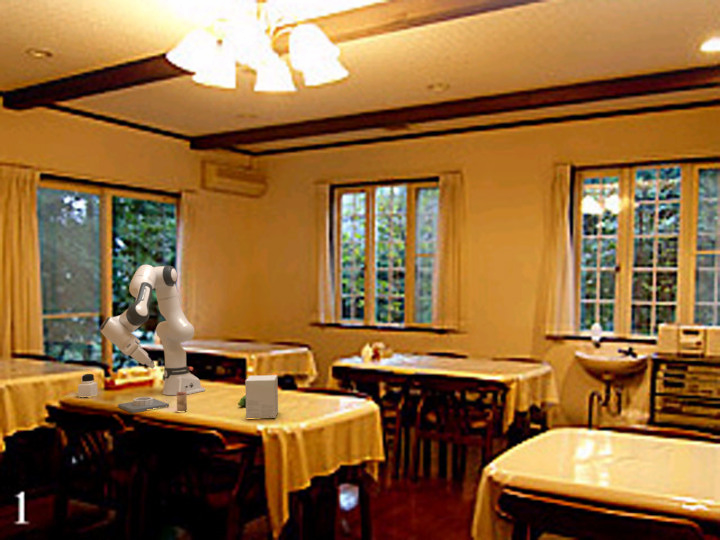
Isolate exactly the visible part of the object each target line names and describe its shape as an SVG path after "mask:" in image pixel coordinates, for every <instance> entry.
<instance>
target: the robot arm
mask: <svg viewBox="0 0 720 540" xmlns="http://www.w3.org/2000/svg"><path fill="white" fill-rule="evenodd" d="M177 281H178V272H177V269H176V267H174V266H171V265H164V266H163V265H162V266H152V265H150V264H141V265H140V266H139V267H138V268H137V270H136V271H135V273H134V274H133V276H132V279H131V281H130V283H129V289H128V290H129V293H130V295H131V296H132V297H134V298H135V301H134V302H133V303H132V304H131V305H130V306H128V308H127V309H126V310H125V311H124V312H123V313H121V314H120V315H116V316H108V317H107V318H105V320H104V321H103V322H102V324H101V325H100V327H99V331H100V332H101V333H102V335H103V336H104V337H105V338H106V340H108V341H109V342H110V343H112V344H114V345H115V346H116V347H117V349H118V350H119V351H120V352H121V353H123V354H124V355H125V356H130V357H131V358H132V359H134V361H137V362H138V363H140V364H141V365H146V366H148V367H150V369H152V370H153V369H154V368H155V367H156V366H155V362H154V361H153V360H152V359H151V357H149V353H148V352H147V351H146V350H144V349H143V348H142V345H141V344H140V343H141V340H139V338H137V336H135V334H133V333H134V332H135V331H136V330H137V329H139V327H141V326H142V325H144V324H145V323H146V322H148V320H149V318H150V302H151V299H152V295H153V290H154V289H155V293H156V294H155V295H156V301H157V305H158V308H159V312H160V315H161V316H162V317H164V319H165V320H163V321H160V322H158V324H157V326H156V329H155V333H156V337H158V339H159V340H160V343H161V345H162V348H163V353H164V368H163V370H164V371H163V377H164V384H163V389H162V393H161V394H162V395H165V396H177V392H187V395H190V394H195V393H200V392H201V393H202V392H205V391H206V388H205V387H203V386H202V385H201V380H200V379H199V378H198V377H197V376H195V375H194V374H193V373H191V372H190V371H193V370H194V367H193V366H188V365H187V352H186V349H184V347H183V345H182V343H184V342H189V341H190V340H192V339H193V338H194V336H195V332H196V331H195V328H194V325H193V324H191V322H190V321H189V320H188V319H187V317H186V314H185V313H184V312H183V308H182V305H181V302H180V298H179V294H178V292H179V291H178V289H177V286H176V283H177Z"/></svg>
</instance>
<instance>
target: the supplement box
mask: <svg viewBox="0 0 720 540" xmlns="http://www.w3.org/2000/svg"><path fill="white" fill-rule="evenodd" d="M278 381H279V380H278V374H273V375H249V376H248V377H247V378H246V379H245V381H244V382H245V383H244V385H245V395H246V407H245V419H246V418H275V417H276V418H277V416H278V414H277V413H279V395H278V393H279V391H278V386H279V385H278ZM276 415H277V416H276ZM276 418H275V419H276Z"/></svg>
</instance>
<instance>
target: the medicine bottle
mask: <svg viewBox="0 0 720 540" xmlns="http://www.w3.org/2000/svg"><path fill="white" fill-rule="evenodd" d="M80 377H81V378H80V379H81V382H80V383H79V384H78V385H77V397H78V396H83V397H84V396H86V397H87V396H93V395H96V394H98V382H97V381H94V380H95V376H94V374H93V373H84V374H82V375H81V376H80Z"/></svg>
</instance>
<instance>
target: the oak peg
mask: <svg viewBox="0 0 720 540" xmlns="http://www.w3.org/2000/svg"><path fill="white" fill-rule="evenodd" d="M187 397H188V394H187V392H177V395H176V410H177V411H186V410H187V411H188V404H187V403H188V399H187ZM177 411H176V412H177Z"/></svg>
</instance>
